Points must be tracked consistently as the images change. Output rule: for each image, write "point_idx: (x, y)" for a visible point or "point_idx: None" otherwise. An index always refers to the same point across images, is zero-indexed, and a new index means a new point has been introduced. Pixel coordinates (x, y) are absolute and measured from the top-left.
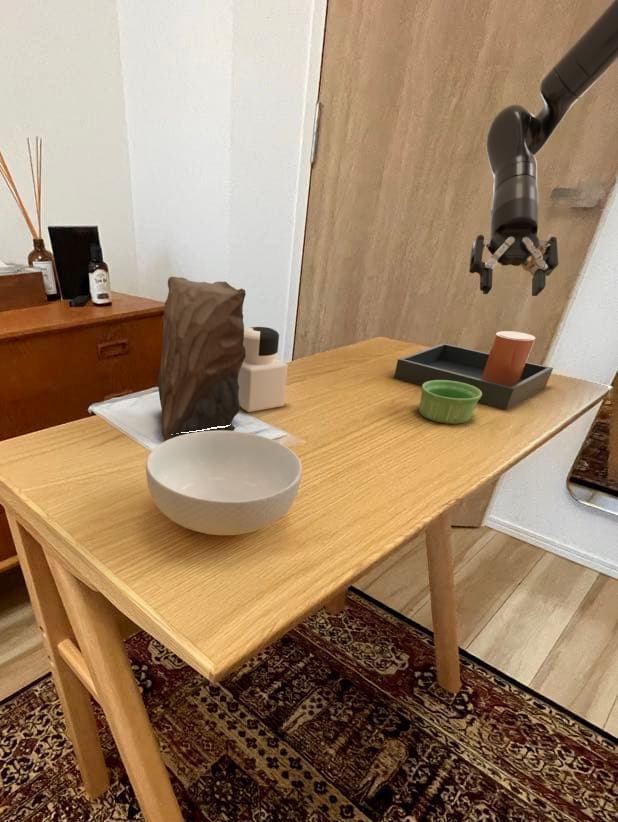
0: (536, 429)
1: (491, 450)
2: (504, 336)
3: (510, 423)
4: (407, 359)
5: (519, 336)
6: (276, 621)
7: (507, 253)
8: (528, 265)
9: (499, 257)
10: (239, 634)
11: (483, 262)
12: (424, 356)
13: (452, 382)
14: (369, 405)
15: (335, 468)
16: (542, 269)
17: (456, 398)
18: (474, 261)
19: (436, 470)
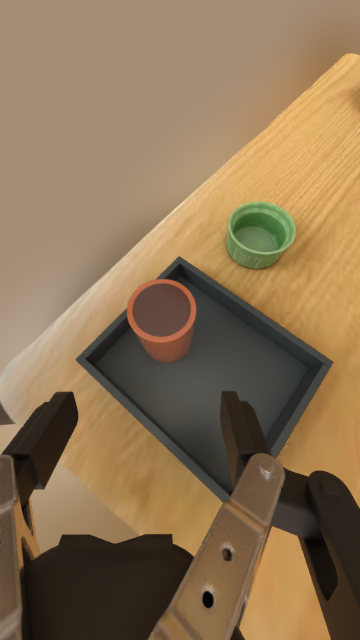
0: (164, 230)
1: (220, 188)
2: (186, 296)
3: (186, 239)
4: (315, 373)
5: (157, 301)
6: (336, 65)
7: (168, 568)
8: (33, 547)
9: (223, 505)
10: (347, 61)
11: (294, 504)
12: (280, 427)
13: (257, 251)
14: (335, 260)
15: (340, 150)
16: (10, 456)
17: (260, 201)
18: (348, 491)
19: (268, 157)
